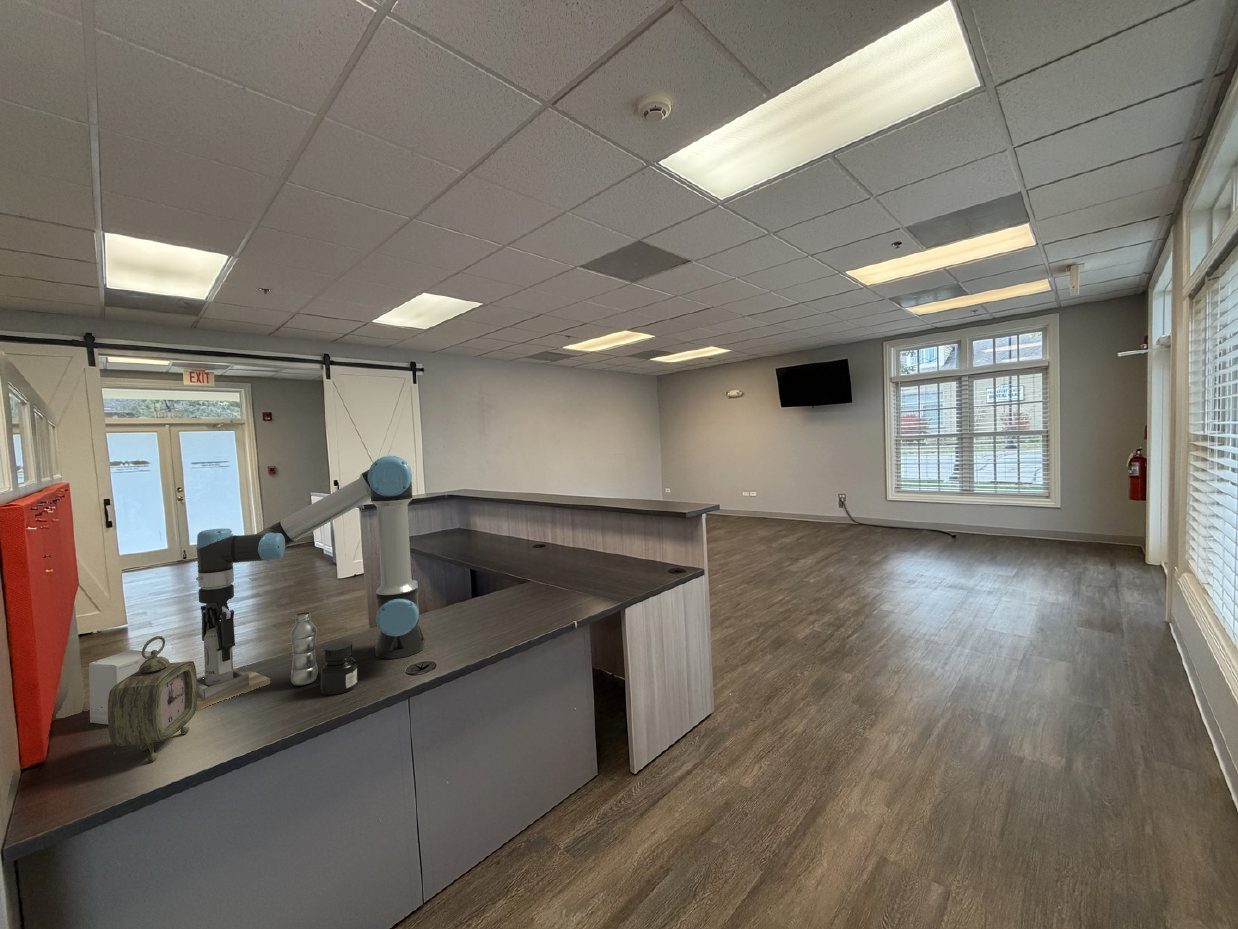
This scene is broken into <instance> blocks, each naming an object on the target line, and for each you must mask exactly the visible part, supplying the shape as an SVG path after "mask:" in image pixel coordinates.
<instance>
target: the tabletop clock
mask: <svg viewBox="0 0 1238 929" xmlns="http://www.w3.org/2000/svg"><path fill="white" fill-rule="evenodd" d="M156 640H161V642H162V646H160V648H159V649H158V650H157V649H153V650H151V651H150V652H151V655H150V656H145V651H147V650H146V649H147V647H148V646H149V645H150V644H151V643H152V642H154V641H156ZM165 646H166V640H165V638H164V637H163V636H162V635H161V636H160V635H157V636H154V637H152V638H150V639H149V640H147V641H146V642H145V644H144V645H143V647H142V650H141V651H142V656H143V658H145V659H147V660H145V661H144V662H143V663H142V665H141V666H140V668H139V670H138V671H137V672H136V673H134V674H132V675H130V676H129V677H127V678H125V679H124V680H122V681H121V682H119V683H118V684H116V685H115V686H114V687H113V688H112V689H111V690H110V693H109V697H108V726H107V728H108V736H109V739H110V741H111V743H113V744H114V745H116V746H117V747H124V746H126V747H127V746H132V745H133V746H134V745H140V746H139V749H140V751H142V752H145V751H147V750H148V751H149V753H150V754H149V755H148V756H147V761H148V762H154V761H156V760H157V759H158V757H159V754H158V753H157V752H155V749H154V748H155V747H154V746H155V745H154V743H157V742H158V743H159V742H164V741H166V740H168V739H170V738H171V737H172V736H174V735H175V734H177V733H178V732H179V731H180V734H182V735H186V734H188V733H189V731H190V727H189V726H186V724H188V723H189V722H190V721H191V720H192V718H193V717H194V715H195V713H196V712H197V711H196V706H197V678H198V675H197V669H196V664H195V662H194V661H193V660H189V661H176V662H171V661H170V660H169V659H168V658H166V657H164V656H159V654H161V652H162V651H163V650H164V648H165Z"/></svg>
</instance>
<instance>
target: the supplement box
mask: <svg viewBox="0 0 1238 929" xmlns="http://www.w3.org/2000/svg"><path fill="white" fill-rule="evenodd" d="M150 655H151V651H147V650H145V656H150ZM145 660H147V659H145V658H143V656H142V650H137V649H135V650H134V649H128V650H126V651H122V652H119V653H116V654H113V655H110V656H107V657H104V658H100V659H98V660H95V661H92V662H89V663H88V673H89V674H88V676H89V678H88V680H89V682H88V683H89V723H91V724H93V723H94V724H100V725H101V724H102V725H108V697H109V693H110V690H111V689H112V688H113V687H114V686H115V685H116V684H118V683H119V682H121V681H122V680H124V679H125V678H127V677H129V676H130V675H132V674H134V673H136V672H137V671H138V670H139V668H140V666H141V665H142V663H143V662H144V661H145ZM101 707H103V708H101Z"/></svg>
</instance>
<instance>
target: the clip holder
mask: <svg viewBox="0 0 1238 929" xmlns="http://www.w3.org/2000/svg"><path fill="white" fill-rule="evenodd" d="M234 669H236V670H234ZM233 670H234V671H233V678H232V679H231V680H228V681H225V682H222V683H219V684H216V685H213V686H210V687H208V685H206V684H205V675H204V676H201V677H197V706H196V711H195V712H197V711H200V710H203V709H206V708H208V707H210V706H209V705H211V706H213V705H212V704H214V703H216V702H219V701H221V700H224V699H227V700H229V698H230V699H232V698H231V697H233V696H235V697H237V696H236V695H238V696H240V695H239V694H241V693H244V694H246V693H249V692H252V691H254V689H255V690H256V688H257V689H259V687H260V688H263V687H264V686H265V687H266V686H267V685H270V684H271V678H270V677H267V676H265V675H262V674H260V673H258V672H255V671H252V670H249V671H246V672H245V671H242V670H239V669H237V668H235V667H233ZM203 678H204V679H203ZM241 695H242V694H241ZM233 698H234V697H233ZM219 703H220V702H219ZM216 704H217V703H216ZM214 705H215V704H214ZM207 706H208V707H207ZM205 707H206V708H205Z"/></svg>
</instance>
